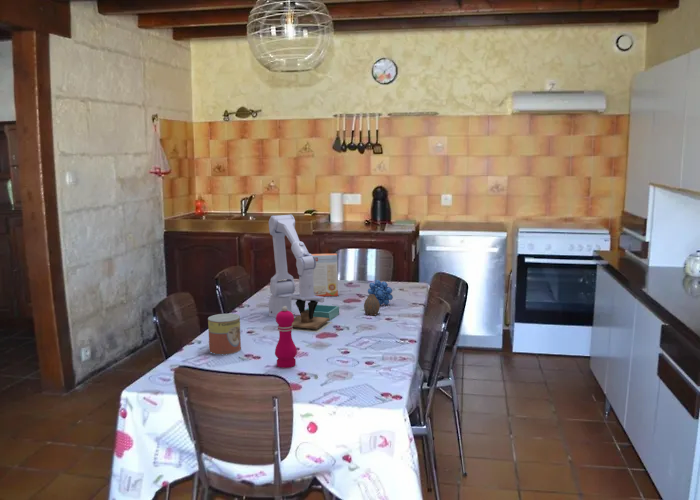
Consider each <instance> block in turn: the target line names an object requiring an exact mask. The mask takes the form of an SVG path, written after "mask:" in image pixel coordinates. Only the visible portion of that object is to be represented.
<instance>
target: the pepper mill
mask: <svg viewBox="0 0 700 500" xmlns="http://www.w3.org/2000/svg"><path fill="white" fill-rule="evenodd" d="M282 310H283V311H280V312H279V313H278V314H277V315H276V317H275V322H276V324H278V325H277V331H278V333H279V334H278V335H279V338H278V341H277V343H276V346H275V349H274V355H275V357H276V358H277V359H276V366H277V367H278V368H280V369H281V368H282V369H289V368H293V367H295V366H296V363H297V362H296V358H295V357H296V356H297V354H298V351H297V346H296V344H295V342H294V340H293V336H292V335H293V334H292V331H294V330H293V325H292V323H293V322H294V318H295V316H294V315H295V314H293V313H294V312H290V311H287V307H286V306H284V307H282Z"/></svg>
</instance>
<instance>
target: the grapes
mask: <svg viewBox="0 0 700 500" xmlns="http://www.w3.org/2000/svg"><path fill="white" fill-rule="evenodd" d="M367 293H368V294H374V295H375V297H376V298H377V300H378V301H379V304H380V306H382V305H383V304H384V305H385V306H387V305H389V303H390V301H392V300H393V299H394V297H393V294H392V293H393V288H392V287H390V286H388V283H387V282H386V281H380V280H379V279H376V280H374V282H370V283H369V288H368V289H367Z"/></svg>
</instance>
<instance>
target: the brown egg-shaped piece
mask: <svg viewBox="0 0 700 500" xmlns="http://www.w3.org/2000/svg"><path fill="white" fill-rule="evenodd" d="M368 294H369V293H368ZM380 307H381V305H380V304H379V301H378V300H377V298H376V297H375V295H374V294H369V295H368V296H367V298H366V299H365V300H364V302H363V311H364V312H365V314H366V315H367V316H376V315H377V314H378V313H379V312H380Z"/></svg>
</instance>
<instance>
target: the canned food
mask: <svg viewBox="0 0 700 500" xmlns="http://www.w3.org/2000/svg"><path fill="white" fill-rule="evenodd" d="M240 319H241V316H240V315H239V314H237V313H218V314H214V315H210V316H208V318H207V324H208V328H207V329H208V344H209V347H208V348H209V349H208V351H209V350H210V352H212V353H215V354H214V355H216V354H220V355H219V356H222V354H223V356H225V355H226V354H227V355H233V354H236V353H238V352H241V350H242V345H241V343H242V341H241V320H240ZM210 352H209V353H210ZM212 353H211V354H212ZM227 355H226V356H227Z"/></svg>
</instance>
